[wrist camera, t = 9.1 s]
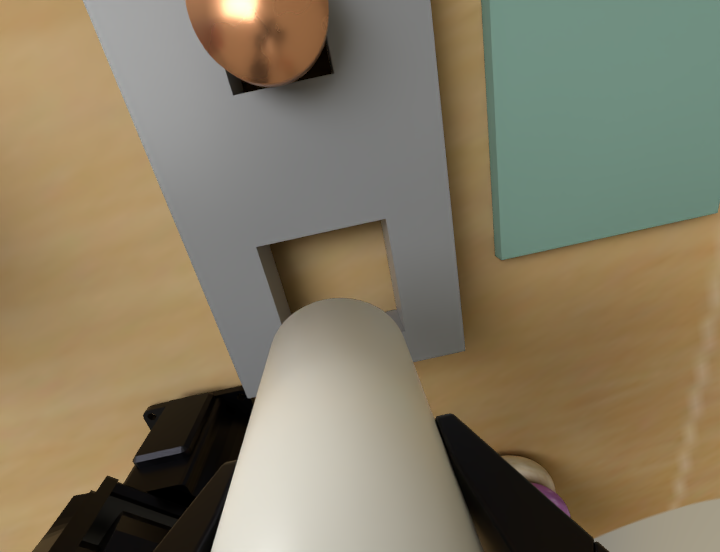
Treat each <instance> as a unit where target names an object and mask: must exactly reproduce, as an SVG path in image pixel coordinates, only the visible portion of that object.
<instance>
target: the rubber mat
mask: <svg viewBox="0 0 720 552" xmlns="http://www.w3.org/2000/svg"><path fill="white" fill-rule="evenodd" d="M481 4H482V23H483V41H484V60H485V78H486V96H487V115H488V133H489V152H490V170H491V189H492V207H493V226H494V244H495V256H496V257H498V258H499V259H501V260H505V259H509V258H514V257H518V256H523V255H528V254H532V253H537V252H541V251H546V250H550V249H555V248H559V247H564V246H569V245H573V244H578V243H582V242H587V241H591V240H596V239H600V238H605V237H610V236H614V235H619V234H623V233H628V232H632V231H637V230H642V229H646V228H651V227H655V226H660V225H664V224H669V223H673V222H678V221H683V220H687V219H692V218H696V217H701V216H705V215H710V214H715V213H718V208H719V203H720V0H481Z"/></svg>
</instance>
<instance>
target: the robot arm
mask: <svg viewBox="0 0 720 552" xmlns="http://www.w3.org/2000/svg"><path fill="white" fill-rule="evenodd" d="M239 394H244V395H245V396H241V395H239ZM254 402H255V400H254V398H247V396H246V393H245V391H244V388H243V386H239V387H234V388H230V389H225V390H221V391H216V392H211V393H204V394H199V395H195V396H190V397H186V398H181V399H177V400H172V401H169V402H166V403H161V404H157V405H152V406H150V407H148V408H147V410H146V411H145V413H144V415H143V417H144V419H145V421H146V423H147V425H148V426H149V428H150V430H151V431H150V433H149V434H148V436H147V438H146V439H145V441H144V442H143V444H142V446H141V447H140V449H139V450H138V452H137V454H136V455H135V457H134V459H133V463H134V464H135V466H134V467H133V469H132V471H131V472H130V474H129V475H128V477H127V479H126V480H125V482H124V484H122V483H119V482H118V479H115V478H113V477H110V476H107V477H106V478H105V479H104V481H103V482H102V484H101V485H100V487H99V488H98V490H97V491H96V492H95V491H92V490H91V491H90V493H87V494H81V495H76V496H73V498H72V499H71V500H70V502H69V503H68V505H67V506H66V507H65V509H64V510H63V511H62V513H61V514H60V516H59V517H58V518H57V520H56V521H55V522H54V524H53V525H52V526H51V528H50V529H49V531H48V532H47V533H46V535H45V536H44V537H43V538H42V540H41V541H40V542H39V544H38V545H37V546H36V547H35V549H34V550H33V551H32V552H211V549H212V546H213V542H214V539H215V535H216V532H217V529H218V525H219V522H220V518H221V515H222V512H223V508H224V505H225V501H226V498H227V494H228V491H229V488H230V484H231V481H232V477H233V474H234V471H235V467H236V464H237V460H238V457H239V454H240V450H241V447H242V443H243V440H244V436H245V433H246V430H247V426H248V423H249V419H250V416H251V413H252V409H253V406H254ZM152 413H153V414H155V415H153V414H152ZM435 422H436V425H437V427H438V430H439V433H440V435H441V438H442V441H443V443H444V446H445V449H446V451H447V454H448V457H449V459H450V462H451V465H452V467H453V470H454V472H455V475H456V478H457V480H458V483H459V486H460V488H461V491H462V494H463V496H464V499H465V502H466V504H467V507H468V510H469V512H470V515H471V518H472V520H473V523H474V526H475V528H476V531H477V534H478V536H479V539H480V542H481V544H482V547H483V550H484V552H609V551H608V550H607V549H605V548H604V547H603V546H602V545H601V544H600V543H599V542H594V539H593V537H592V536H591V535H589V534H588V533H587V532H586V531H585V530H584V529H583V528H582V527H580V526H579V525H578V524H577V523H576V522H575V521H574V520H572V519H571V518H570V517H569V516H568V515H567V514H566V513H565V512H563V511H562V510H561V509H560V508H559V507H558V506H557V505H556V504H554V503H553V502H552V501H551V500H550V499H549V498H548V497H546V496H545V495H544V494H543V493H542V492H541V491H540V490H539V489H537V488H536V487H535V486H534V485H533V484H532V483H531V482H530V481H528V480H527V479H526V478H525V477H524V476H523V475H522V474H521V473H519V472H518V471H517V470H516V469H515V468H514V467H513V466H511V465H510V464H509V463H508V462H507V461H506V460H505V459H504V458H502V457H501V456H500V455H499V454H498V453H497V452H496V451H495V450H493V449H492V448H491V447H490V446H489V445H488V444H487V443H485V442H484V441H483V440H482V439H481V438H480V437H479V436H478V435H476V434H475V433H474V432H473V431H472V430H471V429H470V428H469V427H467V426H466V425H465V424H464V423H463V422H462V421H461V420H459V419H458V418H457V417H456V416H455V415H454V414H445V415H441V416H437V417H436V419H435Z"/></svg>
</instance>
